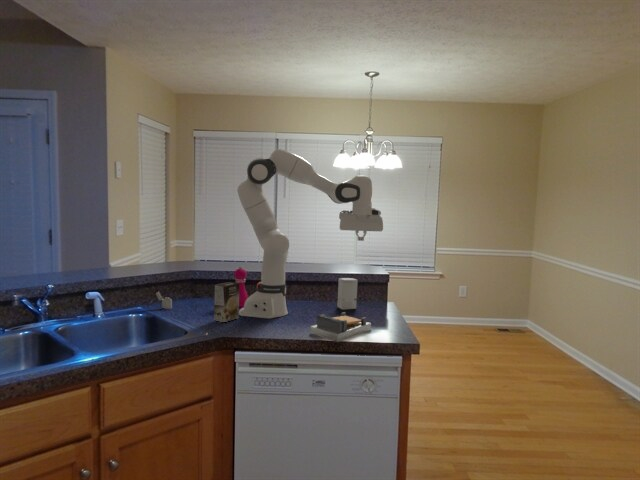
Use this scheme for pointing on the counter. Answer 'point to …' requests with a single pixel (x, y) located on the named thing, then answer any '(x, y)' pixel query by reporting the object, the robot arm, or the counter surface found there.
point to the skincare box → (347, 293)
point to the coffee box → (226, 302)
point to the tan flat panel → (348, 319)
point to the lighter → (165, 301)
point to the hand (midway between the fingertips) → (360, 240)
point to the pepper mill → (241, 285)
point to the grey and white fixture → (338, 328)
